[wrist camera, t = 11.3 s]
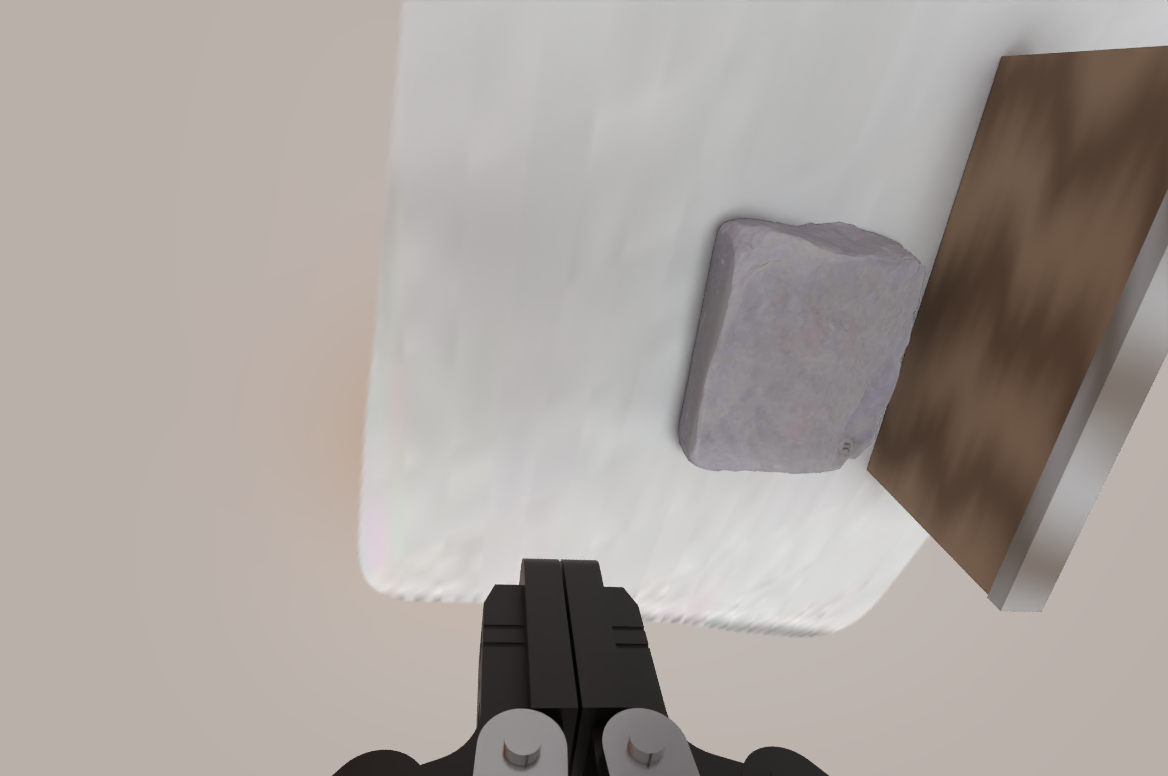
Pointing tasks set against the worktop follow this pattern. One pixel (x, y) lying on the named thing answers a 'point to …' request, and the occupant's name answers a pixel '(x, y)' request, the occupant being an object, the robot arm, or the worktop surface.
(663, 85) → the worktop surface
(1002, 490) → the walnut wall board
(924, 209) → the worktop surface
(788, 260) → the stone block
